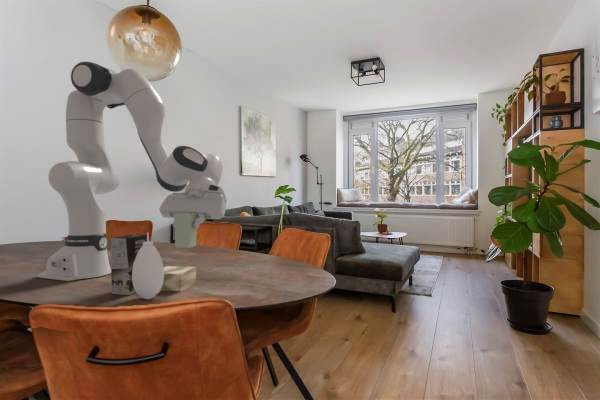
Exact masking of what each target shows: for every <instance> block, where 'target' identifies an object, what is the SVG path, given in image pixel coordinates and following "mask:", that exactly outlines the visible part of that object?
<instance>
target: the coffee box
mask: <svg viewBox="0 0 600 400" xmlns="http://www.w3.org/2000/svg"><path fill="white" fill-rule="evenodd" d="M110 241H111V243H110V245H111V246H110V247H111V248H110V249H111V251H110V254H111V256H110V258H111V259H110V260H111V261H110V268H111V273H110V282H111V283H110V285H111V286H110V290H111V291H110V293H111V295H123V296H130V295H134V294H137V293H136V291H135V289H134V286H133V282H132V270H133V265H134V261H135V258H136V256H137V253H138V251H139V250H140V248H141V247H142V246H143V242H147V234H146V233H145V234H128V235H122V236H115V237H110Z"/></svg>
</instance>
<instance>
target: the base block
mask: <svg viewBox="0 0 600 400" xmlns="http://www.w3.org/2000/svg"><path fill="white" fill-rule="evenodd" d="M163 268H164V281H163V285H162V288H161V290H160V292H161V291H163V292H183V291H185V290H187V289H188V288H190V287H191V286H193V285H195V284H196V283H197V267H196V266H175V265H166V266H163Z"/></svg>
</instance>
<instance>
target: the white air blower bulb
mask: <svg viewBox="0 0 600 400" xmlns="http://www.w3.org/2000/svg"><path fill="white" fill-rule="evenodd" d="M146 235H147V242H143V246H142V247H141V248H140V250H139V251H138V253H137V256H136V258H135V261H134V265H133V270H132V282H133V286H134V289H135V291H136V293H135V294H137V296H140V297H141V299H145V300H152V299H153V298H155V297H156V296H157V294H160V292H161V291H160V290H161V288H162V285H163V281H164V268H163V267H164V264H163V260H162V257H161V255H160V252H159V251H158V249H157V247H156V246H155V245H154V241H150V234H149V232H147V233H146Z"/></svg>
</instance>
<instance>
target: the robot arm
mask: <svg viewBox="0 0 600 400" xmlns="http://www.w3.org/2000/svg"><path fill="white" fill-rule="evenodd" d="M70 81H71V83H72V86H73V87H74V88H75V90H72V91H71V92H70V93H69V94H68V95H67V96H68V97H67V101H66V107H65V128H66V129H65V130H66V131H65V132H66V134H65V135H66V136H65V137H66V144H67V146H68V148H70V149H71V150H72V151H73V153H74V154H75V156H76V158H77V159H78V161H76V160H75V161H74V160H71V161H62V162H58V163H56V164H54V165H53V166H52V167H51V168H50V169H49V172H48V182H49V185H50V186H51V189H53V190H55V192H57V193H58V194H59V195H60V197H61V199H62V200H63V202H64V204H65V207H66V210H67V217H68V219H67V221H68V235H67V236H64V237H62V239H61V242H64V241H65V242H64V245H63V247H61V248H60V249H59V250H58V251H56V252H55V253H53V254H52V255H50V257H48V259H47V261H46V268H45V270H44V271H42V272H40V273H38V274H37V276H36V277H37V278H38V277H39V279H48V280H56V281H65V282H71V281H76V280H77V281H78V280H83V279H92V278H97V277H98V278H99V277H103V276H107V275H109V274H111V264H110V261H109V256H108V249H107V248H108V243H109V242H108V241H109V240H108V238H109V237H108V232H107V217H106V216H107V215H106V214H107V213H106V210H105V209H104V208H103V207H102V206H100V204H99V203H98V200H97V197H96V195H104V194H105V195H106V194H108V193H111V192H114V191H115V190H116V189H118V187H119V185H120V182H121V177H120V174H119V172H118V171H117V170H116V169H115V167H114V166H113V164H112V163H111V160H110V159H109V156H108V153H107V149H106V145H105V136H104V133H105V132H104V117H103V116H104V114H103V113H104V110H105V108H106V107H107V108H108V109H111V110H112V109H114V108H117V107H121V106H125V107H126V109H127V110H128V112H129V113H130V116H131V119H132V120H133V122H134V125H135V128H136V130H137V135H138V137H139V140H140V142H141V144H142V146H143V148H144V150H145V152H146V154H147V157H148V159H149V160H150V162H151V164H152V166H153V168H154V172H155V176H156V177H155V178H156V181H157V182H158V184H159V185H160V186H161V187H162V188H163V189H165V190H166V191H169V192H173V193H171V194H168V195H167V196H166V198H165V199H164V200H163V201H162V203H161V204H160V206H159V213H160V214H161V216H162V217H163V218H167V219H168V218H169V219H170V218H172V219H173V222H172V227H173V228H174V229H175V213H182V212H183V213H197V216H196V221H193V222H192V228H194V229H196V230H198V229H199V227H200V225H202V224H203V223H204V222H205V221H206V220H222V218H224V216H225V213H226V210H227V205H226V204H227V197H226V193H225V191H224V189H223V187H222V186H219V183H220V182H221V178H222V174H223V169H224V168H223V162H222V161H221V159H220V158H219V157H218V156H216V154H215V155H214V154H211V153H201V152H200V151H198V150H197V149H195V148H193V147H191V146H188V145H180V146H179V145H178V146H176V147H175V148H174V149H173V151H172V152H171V153H170V154H168V151H167V150H166V147H165V145H164V144H163V140H162V131H163V130H162V128H163V124H164V120H165V117H166V107H165V105H164V102H163V100H162V97H161V96H160V95H159V93H158V92H157V90H156V89H155V88H154V86H153V84H151V82H150V81H149V80H148V79H147V78H146V76H144V74H142V73H141V71H139V70H137V69H134V68H126V69H123V70H121V71H119V72H116V71H114V70H112V69H109V68H107V67H104V66H102V65H100V64H98V63H95V62H92V61H91V62H90V61H80V62H78V63H76V64H75V66H73V68H72V70H71V73H70ZM184 189H185V191H184V192H181V191H183V190H184Z"/></svg>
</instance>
